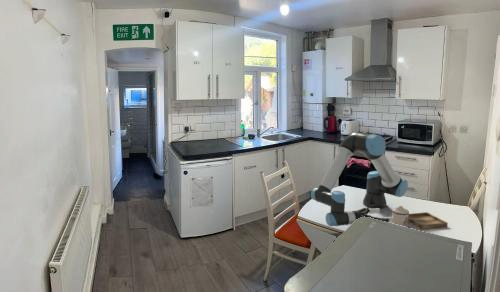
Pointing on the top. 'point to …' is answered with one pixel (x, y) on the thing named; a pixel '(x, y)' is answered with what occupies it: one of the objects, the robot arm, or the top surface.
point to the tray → (426, 221)
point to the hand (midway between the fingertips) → (385, 214)
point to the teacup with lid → (400, 216)
